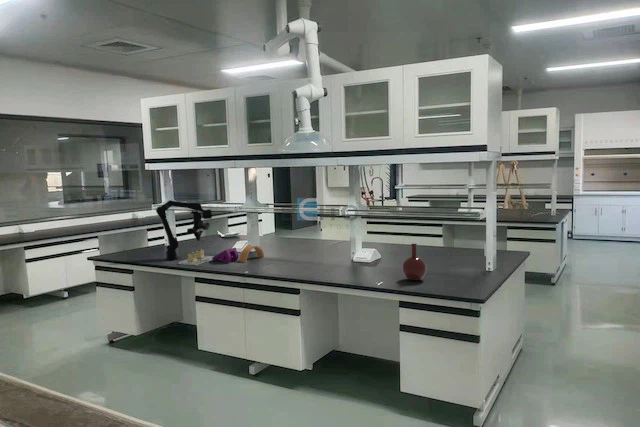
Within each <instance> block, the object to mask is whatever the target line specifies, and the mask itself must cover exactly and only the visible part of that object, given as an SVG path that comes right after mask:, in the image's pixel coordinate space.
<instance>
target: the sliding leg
mask: <svg viewBox="0 0 640 427" xmlns="http://www.w3.org/2000/svg"><path fill="white" fill-rule="evenodd" d="M195 253H196V257H197V258H203V257H204V256H205V250H204V249H202V248H198V249H197V250H195Z"/></svg>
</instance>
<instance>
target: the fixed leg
mask: <svg viewBox="0 0 640 427" xmlns="http://www.w3.org/2000/svg"><path fill="white" fill-rule="evenodd" d="M187 259H188V261H192V262H193V261H196V260H197V257H196V252H195V251H190V252H189V253H188V254H187Z"/></svg>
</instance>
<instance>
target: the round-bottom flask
mask: <svg viewBox="0 0 640 427" xmlns="http://www.w3.org/2000/svg"><path fill="white" fill-rule="evenodd" d="M417 245H418V244H417V243H411V244H410V246H411V256H409V257H407V258H406V259H404V260H403V262H402V265H401V271H402V274H403V276H404V277H405V278H406V279H407V280H410V281H413V280H414V281H415V280H416V281H419V280H421V279H423V278H424V277H425V275H426V273H427V264H426V262H425V261H424V259H423V258H422V257H420V256H417Z"/></svg>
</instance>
